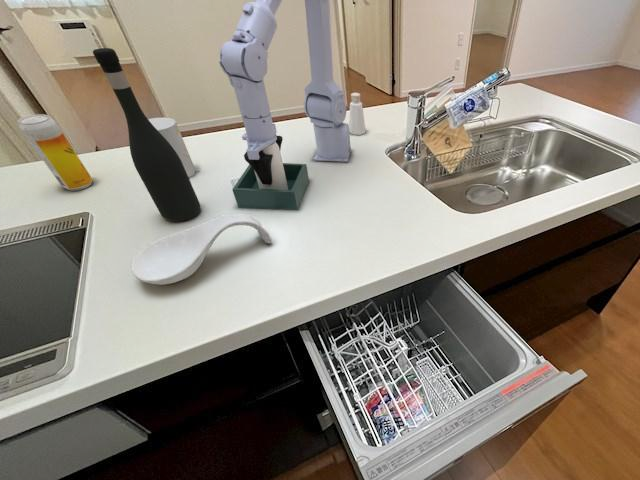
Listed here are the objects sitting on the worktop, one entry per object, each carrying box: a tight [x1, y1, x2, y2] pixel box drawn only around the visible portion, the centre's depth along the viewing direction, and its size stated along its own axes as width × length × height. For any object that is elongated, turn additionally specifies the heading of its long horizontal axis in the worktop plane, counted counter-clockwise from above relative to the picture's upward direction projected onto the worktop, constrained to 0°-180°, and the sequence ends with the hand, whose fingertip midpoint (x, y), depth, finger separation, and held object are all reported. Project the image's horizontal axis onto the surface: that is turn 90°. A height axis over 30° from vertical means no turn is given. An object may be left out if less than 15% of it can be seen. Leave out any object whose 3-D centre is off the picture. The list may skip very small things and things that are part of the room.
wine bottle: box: [92, 47, 201, 222], centre depth 66 cm, size 8×8×30 cm
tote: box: [232, 162, 310, 211], centre depth 82 cm, size 14×14×4 cm
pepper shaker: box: [348, 92, 367, 136], centre depth 107 cm, size 5×5×11 cm
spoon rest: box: [130, 213, 273, 286], centre depth 64 cm, size 24×12×7 cm, turn 129°
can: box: [254, 141, 288, 190], centre depth 79 cm, size 6×6×12 cm
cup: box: [147, 116, 197, 179], centre depth 84 cm, size 8×8×12 cm
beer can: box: [17, 113, 93, 192], centre depth 77 cm, size 6×6×15 cm
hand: (271, 176), depth 81 cm, fingers closed on can, 6 cm apart
